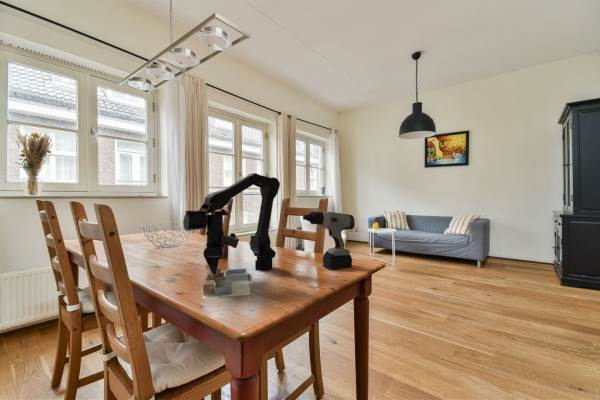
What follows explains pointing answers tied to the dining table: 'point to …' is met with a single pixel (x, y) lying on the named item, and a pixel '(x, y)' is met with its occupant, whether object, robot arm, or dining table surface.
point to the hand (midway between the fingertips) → (215, 270)
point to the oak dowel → (218, 273)
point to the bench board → (233, 289)
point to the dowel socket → (215, 277)
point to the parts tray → (236, 274)
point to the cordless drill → (334, 237)
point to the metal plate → (223, 287)
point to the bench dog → (208, 287)
